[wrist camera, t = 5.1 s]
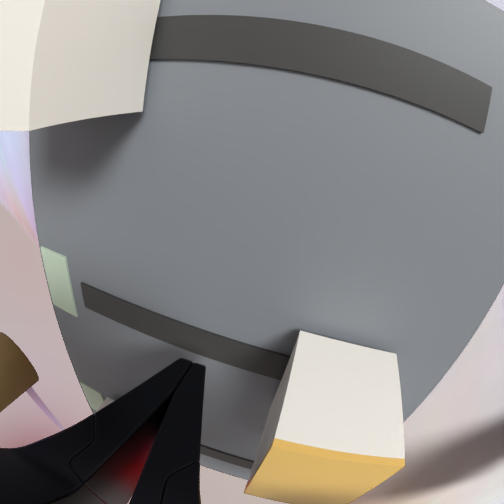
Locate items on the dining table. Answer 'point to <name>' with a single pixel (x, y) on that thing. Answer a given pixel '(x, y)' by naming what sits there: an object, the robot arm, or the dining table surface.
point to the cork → (13, 372)
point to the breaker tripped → (330, 425)
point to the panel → (281, 201)
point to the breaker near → (72, 59)
